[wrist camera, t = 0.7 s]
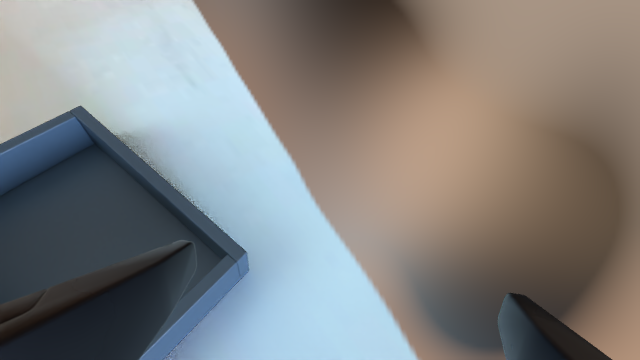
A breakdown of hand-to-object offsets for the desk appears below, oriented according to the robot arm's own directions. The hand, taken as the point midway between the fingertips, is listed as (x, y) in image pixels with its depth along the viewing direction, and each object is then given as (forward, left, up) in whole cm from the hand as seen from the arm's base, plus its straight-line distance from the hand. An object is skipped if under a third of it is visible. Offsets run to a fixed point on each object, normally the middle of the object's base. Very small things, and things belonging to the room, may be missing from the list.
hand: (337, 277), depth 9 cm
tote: (-5, +13, -13) cm, 19 cm away
